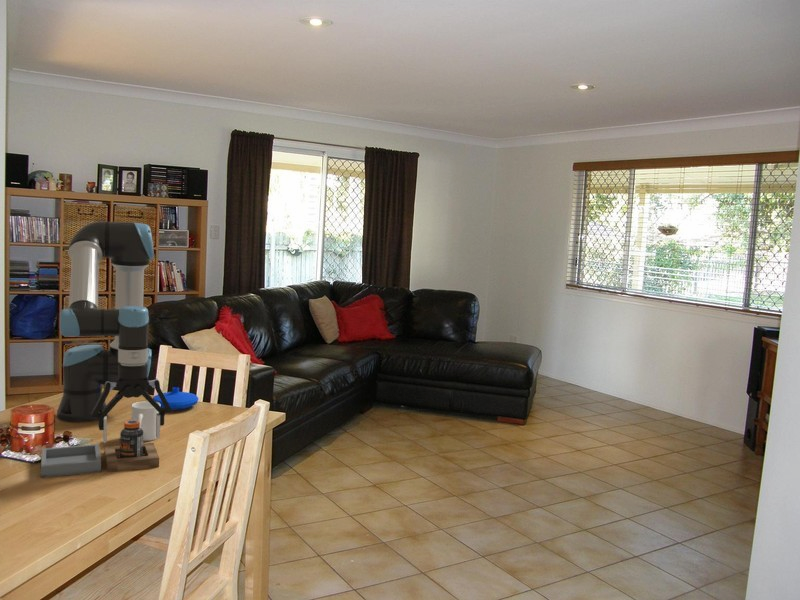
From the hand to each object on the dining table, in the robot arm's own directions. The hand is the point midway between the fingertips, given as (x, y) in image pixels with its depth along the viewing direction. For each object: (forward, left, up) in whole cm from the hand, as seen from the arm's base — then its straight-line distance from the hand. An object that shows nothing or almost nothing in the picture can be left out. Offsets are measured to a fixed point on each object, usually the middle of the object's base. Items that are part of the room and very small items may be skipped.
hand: (131, 439), depth 187 cm
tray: (-1, -15, -6) cm, 16 cm away
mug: (-18, +5, -7) cm, 20 cm away
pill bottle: (0, 0, -7) cm, 7 cm away
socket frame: (-2, 0, -6) cm, 7 cm away
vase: (-51, +19, -7) cm, 55 cm away
